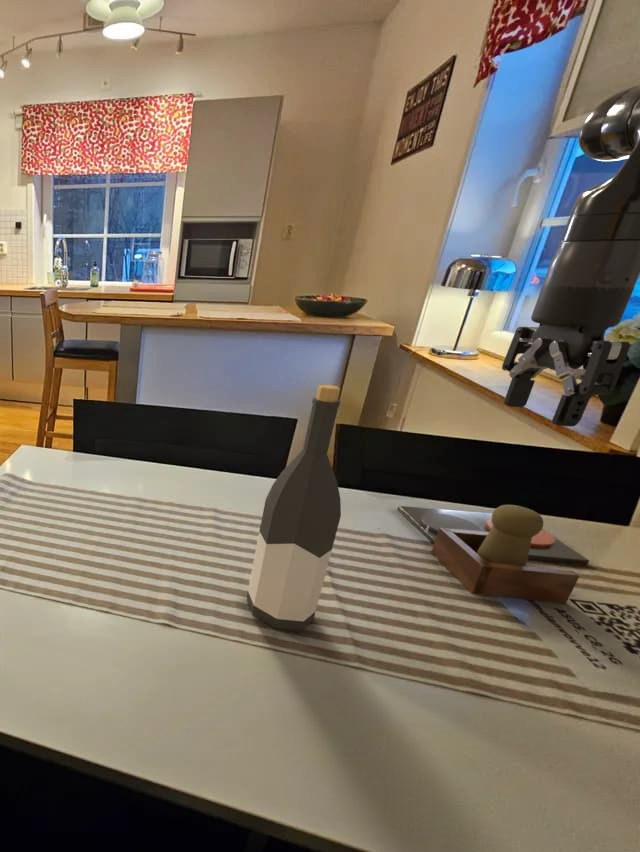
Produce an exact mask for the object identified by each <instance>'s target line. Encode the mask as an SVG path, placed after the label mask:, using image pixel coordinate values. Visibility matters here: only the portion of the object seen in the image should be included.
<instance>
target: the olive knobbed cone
mask: <svg viewBox="0 0 640 852" xmlns="http://www.w3.org/2000/svg"><path fill="white" fill-rule="evenodd" d="M491 514H492V524H493V527H492V528H491V530H490V532H489V533H488V535H487V536H486V538H485V540H484V541H483V543H482V544H481V546H480V548H479V549H478V551H477V554H478V555H479V556H480V557H481V558H483V559H484V560H485V561H486V562H488V563H499V564H509V565H519V566H527V564H528V560H529V559H528V554H529V549H530V545H531V540H532V536H535V535H537V534H538V533H539V532H540V531H541V530H542V529H544V528H543V527H544V520H543V517H542V515H540V514H539V513H538V512H537V511H535V510H533V509H530V508H528V507H524V506H521V505H515V504H502V505H499V506H497V507H496V508H495V509H494V510H493V511H492V512H491Z"/></svg>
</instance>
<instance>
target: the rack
mask: <svg viewBox="0 0 640 852" xmlns="http://www.w3.org/2000/svg"><path fill="white" fill-rule="evenodd" d="M488 533H489V532H483V531H471V530H460V529H449V528H439V531H438V534H437V536H436V539H435V542H434V544H432V548H431V550H430V553H431V554H432V555H433V556H434V557H435V558H436V559H437V560H438V561H439V562H440V563H441V564H442V565H443V566H444V567H445V568H446V569H447V570H448V572H449V573H451V574H452V575H453V576H454V577H455V578H456V579H457V580H458V581H459V583H461V584H462V585H463V586H464V587H465V588H466V589H467V590H468V591H469V592H470V593H471V594H473V595H482V596H491V597H501V598H509V599H510V598H511V599H520V600H529V601H539V602H548V603H556V604H557V603H558V604H564V605H565V604H567V603H568V600H569V599H570V596H571V595H572V592H573V590H574V588H575V586H576V584H577V582H578V580H579V578H580V575H579V574H578V573H576V572H575V571H573V570H570V569H561V568H560V569H559V568H550V567H549V568H548V567H540V566H539V567H538V566H529V565H526V566H519V565H509V564H499V563H488V562H486V561H485V560H484V559H483V558H481V557H480V556H479V555H478V554H477V551H478V549H479V548H480V546H481V544H482V543H483V541H484V540H485V538H486V536H487V535H488Z"/></svg>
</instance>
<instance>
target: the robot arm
mask: <svg viewBox="0 0 640 852" xmlns="http://www.w3.org/2000/svg"><path fill="white" fill-rule="evenodd" d="M578 145H579V148H580V150H581V151H582V153H583V154H584V155H585V156H586V157H588V158H590V159H592V160H596V161H601V162H615V161H622V160H625V161H624V163H623V164H622V165H621V167H620V168H619V170H618V171H617V172H616V174H615V175H614V176H613V177H611V178H609V179H608V180H606V181H603V182H602V183H599V184H596V185H594V186H592V187H589V188H587V189H585V190H584V191H582V192H581V193H580V194H579V195H578V197H577V198H576V200H575V203H574V204H573V206H572V209H571V211H570V214H569V217H568V220H567V223H566V225H565V228H564V232H563V235H562V236H561V240H560V243H559V245H558V247H557V249H556V251H555V253H554V255H553V257H552V258H551V261H550V263H549V266H548V268H547V271H546V273H545V276H544V280H543V283H542V285H541V288H540V291H539V294H538V297H537V300H536V303H535V305H534V308H533V311H532V313H531V317H530V319H531V321H532V322H533V323H536V324H538V326H517V328H516V329H515V331H514V334H513V337H512V339H511V341H510V345H509V347H508V349H507V351H506V355H505V358H504V360H503V362H502V365H501V370H503V371H507V372H509V374H508V375H509V377H510V378H511V380H510V383H509V386H508V390H507V392H506V395H505V399H504V402H503V403H504V405H505V406H507V407H511V408H514V407H515V408H524V407H525V406H526V405H527V403H528V401H529V399H530V395H531V393H532V390H533V387H534V385H535V382H536V380H534V379H535V378H536V377H538V376H539V374H540V373H542V372H543V371H544V370H547V369H549V370H551V371H555V374H556V376H557V378H558V379H560V380H561V381H562V386H563V391H564V394H561V397H560V399H559V402H558V405H557V407H556V409H555V412H554V415H553V416H552V417H553V418H552V419H551V423H552V424H554V425H555V426H559V427H576V426H577V425H578V424H579V423H580V421H581V420H582V418H583V415H584V413H585V411H586V409H587V407H588V403H589V401H590V399H591V398H592V397H595V396H610V395H612V394H613V392H614V390H615V388H616V385H617V382H618V379H619V377H620V375H621V372H622V369H623V367H624V364H625V361H626V358H627V356H628V354H629V350H630V347H631V344H630V342H629V341H627V340H626V341H625V340H624V341H623V340H605V335H606V331H607V330H608V329H610V328H614V327H616V326H618V325H620V323H621V321H622V320H623V319H622V318H623V316H624V314H625V313H626V309H627V307H628V304H629V302H630V300H631V297H632V296H633V293H634V290H635V288H636V285H637V284H638V283H637V282H638V280H639V278H640V84H637V85H633V86H631V87H627V88H625V89H622V90H620V91H618V92H616V93H613V94H612V95H611V96H608V97H607V98H606V99H605V100H603V101H602V102H600V103H599V104H598V105H597V106H596V107H594V108H593V110H592V111H591V112H590V113H589V115H587V116H586V118H585V120H584V121H583V123H582V126H581V127H580V130H579V133H578ZM520 354H521V356H519V357H518V359H517V356H518V355H520ZM516 359H517V361H516ZM601 374H604V375H603V377H602V380H601V383H597V381H598V377H599V375H601ZM577 380H580V381H581V382H580V384H578V382H577Z"/></svg>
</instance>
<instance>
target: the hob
mask: <svg viewBox="0 0 640 852" xmlns="http://www.w3.org/2000/svg"><path fill="white" fill-rule="evenodd" d="M397 511H398V512H399V513H400V514H401V515H402V516H403V517H404V518H406V519H407V520H408V521H409V522H410V523H411V525H413V526H414V527H415V529H416V530H418V532H420V533H421V534H422V535H423V536H424V537H425V538H426V539H427V540H428V541H429V542H430V543H432V545H434V542H435V539H436V536H437V534H438V531H439V528H449V529H460V530H471V531H483V532H490V530H491V528H492V527H493V524H492V512H489V513H488V512H477V511H468V510H467V511H465V510H453V509H444V508H443V509H442V508H428V507H418V506H407V505H406V506H405V505H398V506H397ZM527 560H532V561H533V560H534V561H545V562H554V563H565V564H576V565H585V566H588V564H589V562H590V560H589V559H588V558H586V557H585V556H584V555H582V554H580V553H579V552H577V551H576V550H575V549H573V548H571V547H570V546H569V545H566V543H564V542H562V541H561V540H560V539H558V538H556V537H555V536H553V535H552V534H551V533H549V532H548V531H546V530H545V529H544V528H542V530H541V531H540V532H539V533H538V534H537V535H535V536H532V540H531V545H530V549H529V554H528V559H527Z"/></svg>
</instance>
